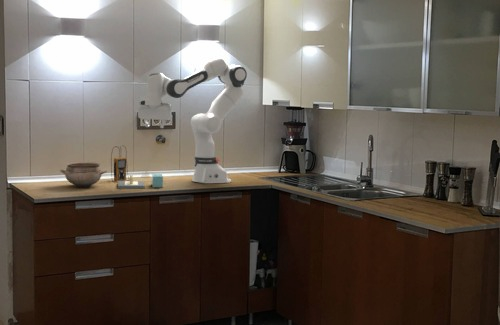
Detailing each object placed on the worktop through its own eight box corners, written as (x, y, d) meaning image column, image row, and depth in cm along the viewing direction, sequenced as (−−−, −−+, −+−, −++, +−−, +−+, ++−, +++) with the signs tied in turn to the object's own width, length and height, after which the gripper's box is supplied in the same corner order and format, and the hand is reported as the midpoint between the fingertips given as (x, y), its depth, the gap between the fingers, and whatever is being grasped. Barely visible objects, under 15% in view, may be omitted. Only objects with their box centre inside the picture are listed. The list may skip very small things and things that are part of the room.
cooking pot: (110, 184, 372) (110, 162, 370) (103, 189, 353) (103, 166, 351) (64, 183, 371) (64, 161, 370) (55, 188, 353) (54, 165, 351)
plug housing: (161, 184, 377) (161, 173, 376) (162, 187, 366) (162, 176, 365) (152, 184, 376) (152, 173, 375) (152, 187, 365) (153, 176, 364)
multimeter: (120, 183, 376) (120, 147, 374) (108, 181, 382) (108, 146, 380) (140, 181, 388) (140, 146, 386) (128, 179, 394) (128, 144, 392)
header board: (143, 183, 378) (144, 173, 378) (144, 188, 361) (144, 178, 360) (118, 183, 376) (118, 173, 375) (118, 188, 358) (118, 178, 357)
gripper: (174, 103, 372) (173, 128, 373) (143, 101, 380) (142, 126, 382) (168, 103, 366) (167, 128, 368) (136, 101, 375) (136, 126, 376)
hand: (154, 127), depth 375 cm, fingers open, 8 cm apart
